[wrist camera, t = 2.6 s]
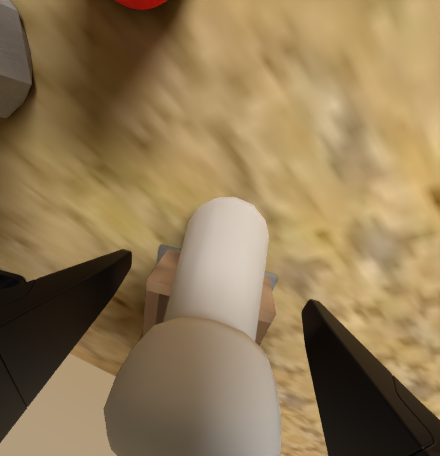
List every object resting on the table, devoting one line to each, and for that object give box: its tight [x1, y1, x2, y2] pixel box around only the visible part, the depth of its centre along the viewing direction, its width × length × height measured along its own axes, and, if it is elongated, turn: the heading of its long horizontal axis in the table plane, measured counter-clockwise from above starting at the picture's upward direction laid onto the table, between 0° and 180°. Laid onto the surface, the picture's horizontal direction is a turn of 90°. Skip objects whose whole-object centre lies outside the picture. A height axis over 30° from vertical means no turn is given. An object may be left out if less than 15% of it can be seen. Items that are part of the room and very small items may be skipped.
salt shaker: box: [104, 197, 281, 456], centre depth 10 cm, size 6×6×13 cm
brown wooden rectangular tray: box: [138, 245, 278, 345], centre depth 19 cm, size 11×19×4 cm, turn 167°
